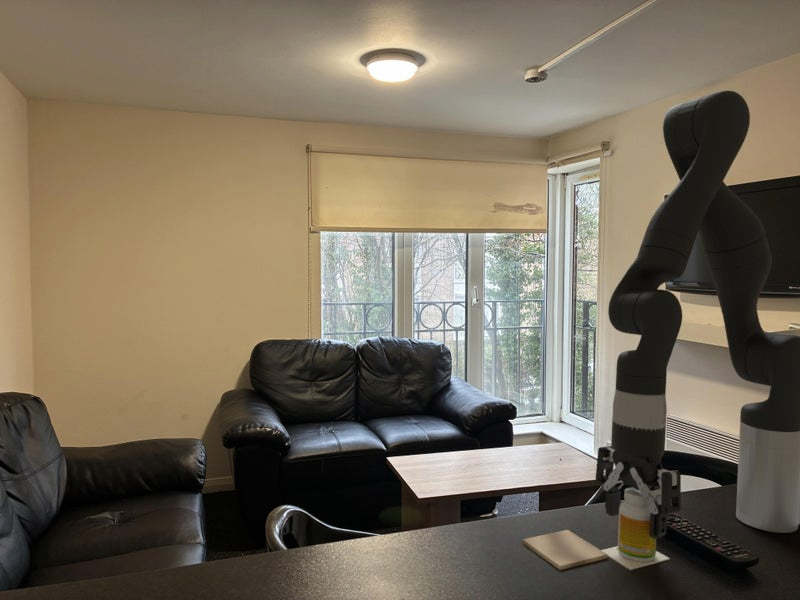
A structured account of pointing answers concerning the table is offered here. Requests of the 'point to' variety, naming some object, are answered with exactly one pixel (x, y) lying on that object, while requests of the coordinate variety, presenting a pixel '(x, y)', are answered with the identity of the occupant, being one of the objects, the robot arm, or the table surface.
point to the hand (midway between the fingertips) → (633, 525)
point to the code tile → (631, 564)
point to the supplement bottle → (635, 528)
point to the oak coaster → (564, 549)
